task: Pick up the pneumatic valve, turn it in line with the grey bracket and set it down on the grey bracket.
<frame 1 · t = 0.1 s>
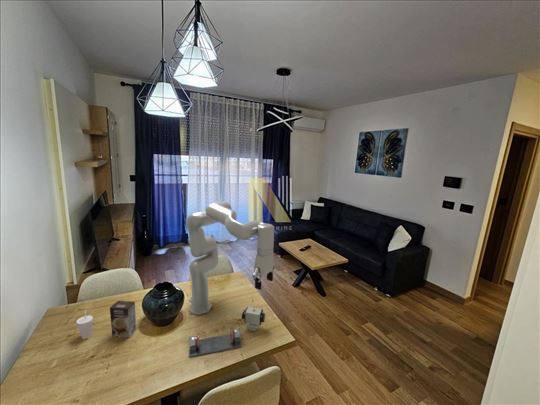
hand: (264, 284, 114), 31 cm above the table, fingers open, 9 cm apart
grey bracket: (215, 345, 116), on the table
smoothie: (86, 337, 118), on the table
coffee box: (124, 333, 121), on the table
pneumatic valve: (253, 328, 128), on the table
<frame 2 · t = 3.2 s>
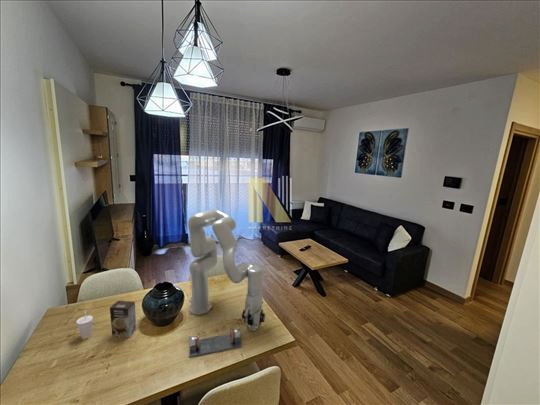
hand: (253, 320, 127), 5 cm above the table, fingers closed on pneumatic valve, 5 cm apart
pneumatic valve: (253, 328, 128), on the table, touching gripper
everything else where it was.
when the fingers open (7 cm above the table, at t = 9.4 s): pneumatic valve stays where it is, resting on grey bracket.
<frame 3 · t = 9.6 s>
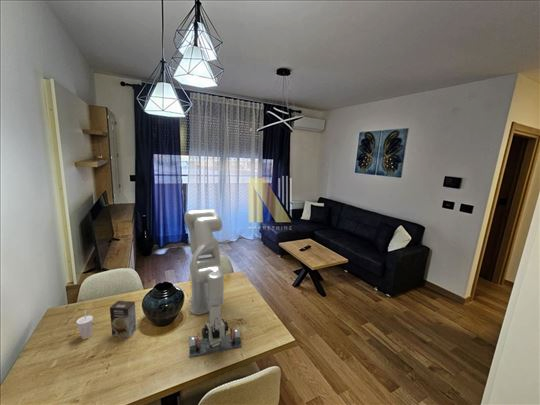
hand: (215, 331, 115), 7 cm above the table, fingers open, 7 cm apart
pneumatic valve: (215, 343, 116), point 1 cm above the table, touching grey bracket
everything else where it was.
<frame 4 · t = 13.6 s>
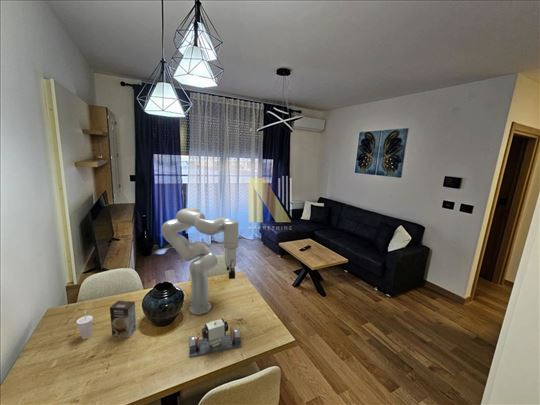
hand: (230, 274, 128), 28 cm above the table, fingers open, 9 cm apart
nothing on the table moved.
at the end: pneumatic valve 0.2 cm off-centre on the grey bracket, point 0.8 cm above the grey bracket's base; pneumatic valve tilted 0°; the gripper is holding nothing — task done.
